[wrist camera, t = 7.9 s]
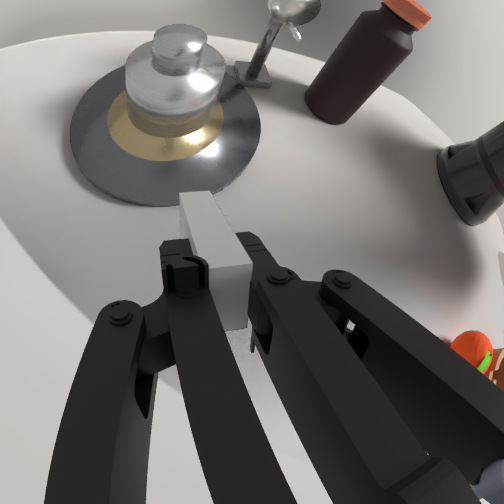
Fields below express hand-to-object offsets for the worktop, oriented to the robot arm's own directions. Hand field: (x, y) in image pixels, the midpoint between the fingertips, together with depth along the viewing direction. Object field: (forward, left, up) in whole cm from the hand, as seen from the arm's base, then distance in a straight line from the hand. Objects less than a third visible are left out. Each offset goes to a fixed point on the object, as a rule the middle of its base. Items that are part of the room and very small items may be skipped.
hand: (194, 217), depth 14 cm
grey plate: (0, -15, -10) cm, 18 cm away
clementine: (-31, +18, -11) cm, 38 cm away
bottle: (-21, -19, -10) cm, 30 cm away
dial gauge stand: (-11, -21, -10) cm, 26 cm away
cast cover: (0, -16, -9) cm, 19 cm away
